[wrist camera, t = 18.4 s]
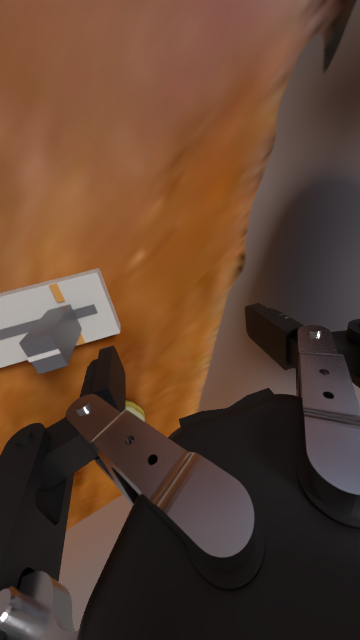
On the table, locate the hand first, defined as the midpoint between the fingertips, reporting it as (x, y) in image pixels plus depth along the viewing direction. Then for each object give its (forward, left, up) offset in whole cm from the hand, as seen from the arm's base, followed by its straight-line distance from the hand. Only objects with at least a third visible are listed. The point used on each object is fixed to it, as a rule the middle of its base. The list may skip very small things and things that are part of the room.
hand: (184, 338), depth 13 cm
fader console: (-11, -16, -24) cm, 31 cm away
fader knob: (-7, -12, -21) cm, 25 cm away
